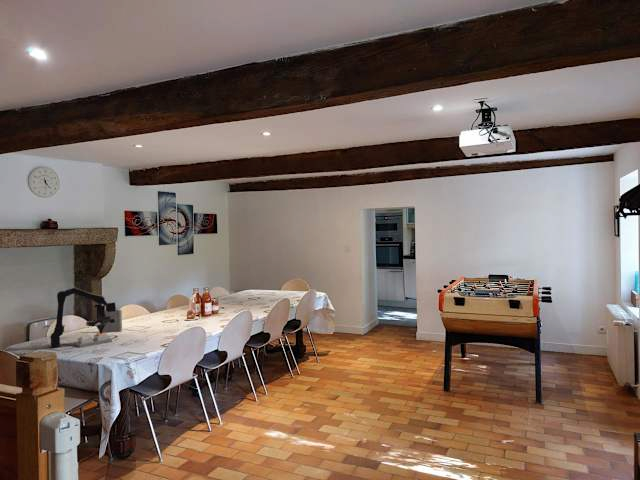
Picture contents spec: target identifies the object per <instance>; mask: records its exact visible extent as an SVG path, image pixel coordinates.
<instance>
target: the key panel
mask: <svg viewBox="0 0 640 480" xmlns="http://www.w3.org/2000/svg"><path fill="white" fill-rule="evenodd" d="M112 342H113V339H112V338H110V337H109V334H107V333H106V335H104V336H96V334H94V335H93V337H92V336H90V338H87V339H81V338H80V337H78V338H77V341H74V342H73V344H74V346H75V347H78V348H85V347H92V346H96V345H102V344H103V345H104V344H107V343H112Z"/></svg>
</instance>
